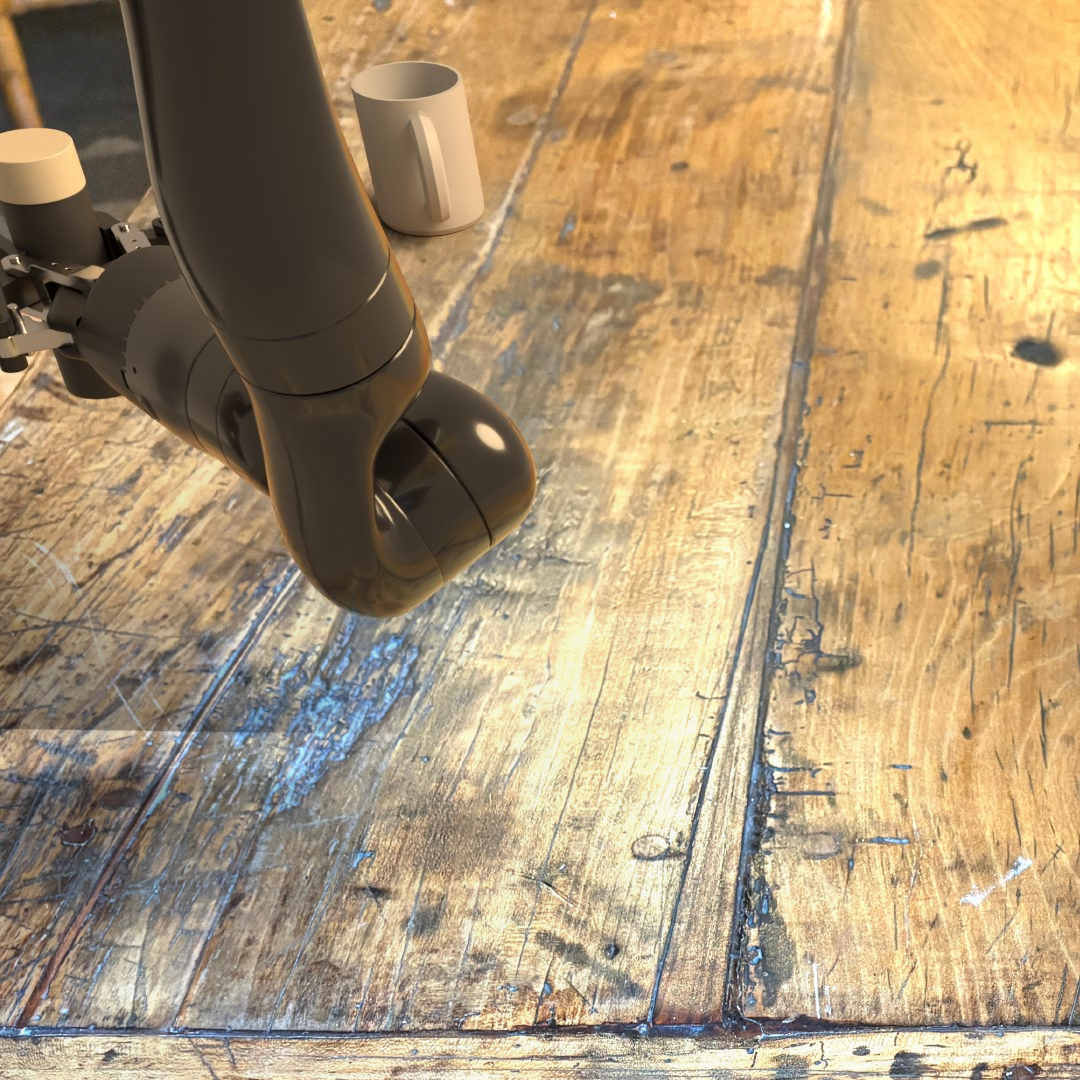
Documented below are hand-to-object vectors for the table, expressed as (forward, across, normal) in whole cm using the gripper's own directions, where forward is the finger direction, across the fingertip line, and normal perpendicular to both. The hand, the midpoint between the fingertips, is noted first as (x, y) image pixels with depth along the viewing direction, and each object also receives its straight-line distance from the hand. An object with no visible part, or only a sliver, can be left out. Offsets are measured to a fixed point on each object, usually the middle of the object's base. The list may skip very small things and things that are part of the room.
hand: (37, 239), depth 91 cm
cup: (+18, -32, +14) cm, 39 cm away
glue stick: (-3, 0, +7) cm, 7 cm away
